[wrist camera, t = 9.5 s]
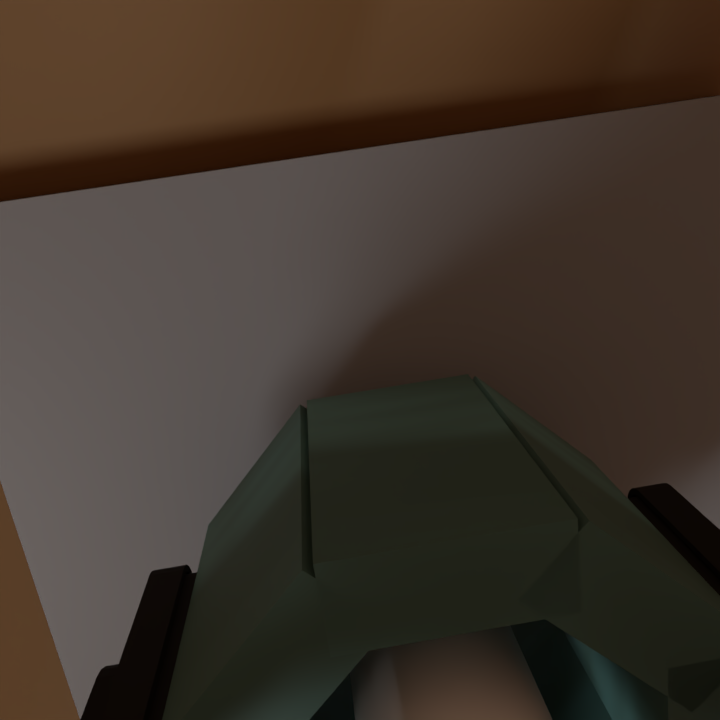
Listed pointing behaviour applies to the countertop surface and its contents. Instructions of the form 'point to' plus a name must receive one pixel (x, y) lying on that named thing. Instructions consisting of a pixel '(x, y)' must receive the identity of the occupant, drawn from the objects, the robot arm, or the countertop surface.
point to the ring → (438, 565)
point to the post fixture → (352, 348)
